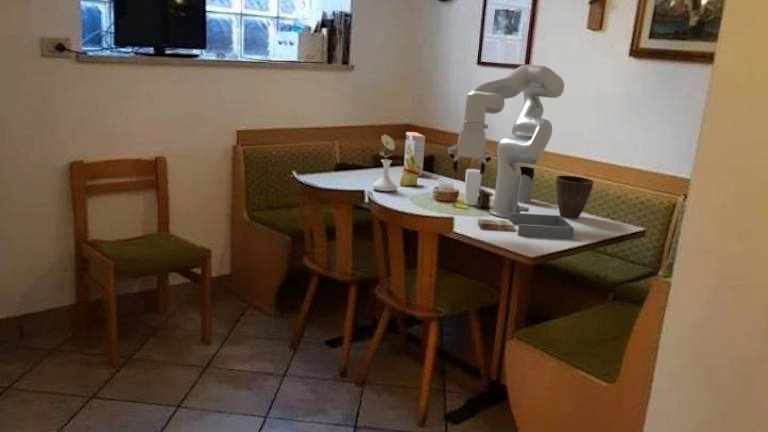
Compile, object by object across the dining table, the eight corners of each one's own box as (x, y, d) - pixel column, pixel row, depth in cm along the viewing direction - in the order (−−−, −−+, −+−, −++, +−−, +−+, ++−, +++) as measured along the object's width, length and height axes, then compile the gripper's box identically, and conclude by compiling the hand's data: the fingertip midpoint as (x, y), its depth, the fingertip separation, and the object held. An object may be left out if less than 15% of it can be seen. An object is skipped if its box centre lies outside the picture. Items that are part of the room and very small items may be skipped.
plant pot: (573, 211, 286) (578, 175, 282) (595, 220, 272) (601, 182, 268) (544, 212, 280) (549, 175, 276) (565, 222, 267) (570, 183, 263)
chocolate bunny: (421, 185, 318) (424, 154, 315) (403, 187, 312) (405, 155, 309) (413, 182, 324) (415, 152, 320) (395, 184, 318) (397, 153, 314)
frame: (558, 225, 261) (560, 215, 260) (572, 238, 243) (573, 228, 242) (508, 222, 260) (509, 212, 259) (518, 235, 243) (519, 224, 242)
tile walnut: (493, 226, 254) (494, 220, 254) (496, 230, 248) (496, 224, 248) (477, 225, 254) (478, 219, 253) (480, 229, 248) (480, 223, 248)
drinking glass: (477, 203, 289) (480, 169, 286) (479, 206, 283) (483, 172, 279) (461, 202, 289) (464, 168, 285) (463, 206, 283) (467, 171, 279)
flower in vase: (401, 192, 299) (405, 137, 293) (377, 193, 295) (381, 137, 289) (390, 186, 311) (394, 133, 305) (367, 187, 307) (370, 133, 301)
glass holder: (510, 201, 297) (514, 168, 294) (514, 195, 311) (518, 163, 307) (530, 204, 295) (534, 170, 291) (533, 197, 308) (537, 166, 304)
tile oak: (510, 227, 254) (510, 221, 254) (513, 231, 249) (514, 225, 248) (494, 226, 254) (495, 220, 254) (497, 230, 248) (498, 224, 248)
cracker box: (402, 171, 352) (405, 131, 347) (413, 171, 354) (416, 131, 349) (411, 176, 339) (414, 135, 334) (422, 176, 341) (426, 135, 336)
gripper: (496, 127, 247) (490, 173, 251) (449, 123, 247) (444, 169, 251) (498, 129, 239) (492, 176, 243) (450, 125, 240) (445, 172, 244)
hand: (468, 172), depth 247 cm, fingers open, 9 cm apart
